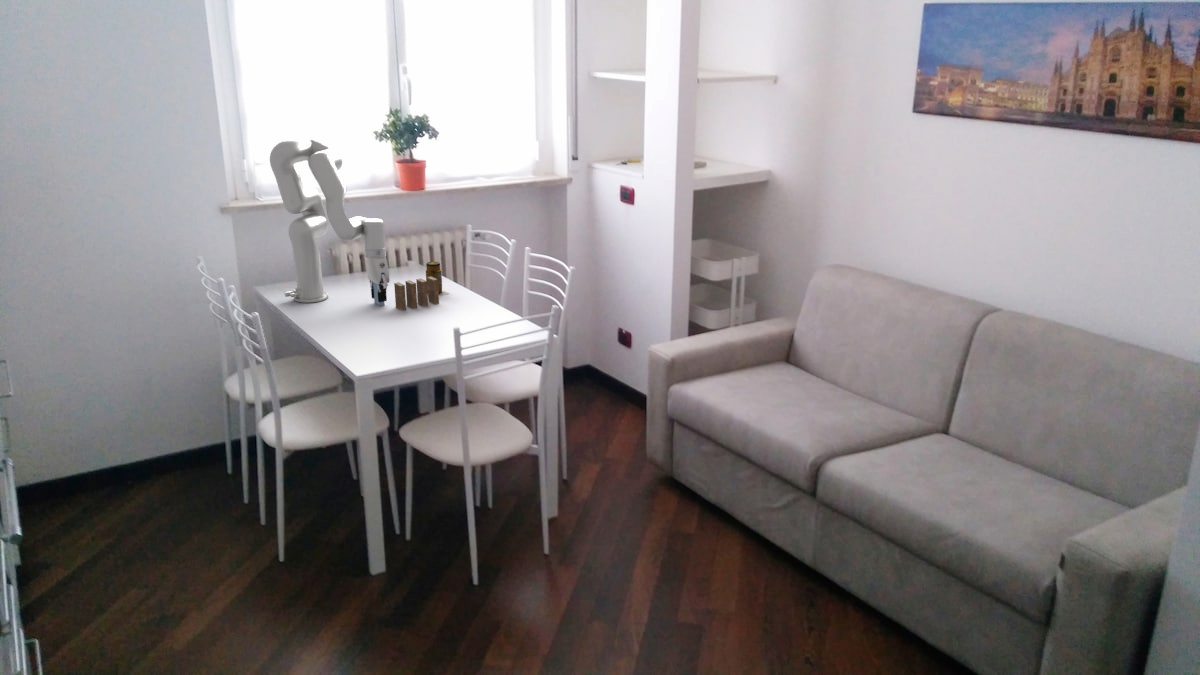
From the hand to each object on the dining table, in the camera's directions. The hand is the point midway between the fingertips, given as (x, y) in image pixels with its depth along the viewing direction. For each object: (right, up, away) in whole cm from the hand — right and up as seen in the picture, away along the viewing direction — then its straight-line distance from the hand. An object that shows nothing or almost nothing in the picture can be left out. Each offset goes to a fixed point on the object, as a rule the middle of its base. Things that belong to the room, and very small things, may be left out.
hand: (379, 299), depth 345 cm
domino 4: (+16, -2, +1) cm, 17 cm away
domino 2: (+9, -4, -5) cm, 11 cm away
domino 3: (+13, -3, -2) cm, 13 cm away
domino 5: (+20, -1, +3) cm, 20 cm away
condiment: (+18, +3, +15) cm, 24 cm away
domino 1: (0, -2, +1) cm, 2 cm away
